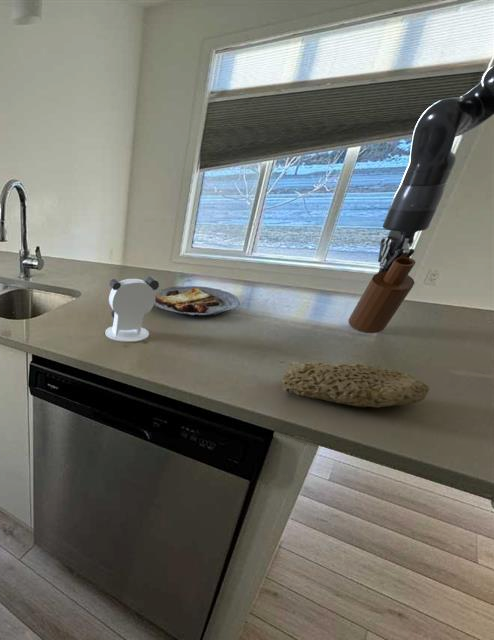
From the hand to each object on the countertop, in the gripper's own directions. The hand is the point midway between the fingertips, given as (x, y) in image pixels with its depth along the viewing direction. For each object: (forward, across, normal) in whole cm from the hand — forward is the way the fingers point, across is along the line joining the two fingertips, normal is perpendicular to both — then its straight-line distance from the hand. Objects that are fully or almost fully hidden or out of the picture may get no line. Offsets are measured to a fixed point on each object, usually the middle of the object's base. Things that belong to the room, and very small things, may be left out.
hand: (380, 283), depth 98 cm
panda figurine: (+11, -20, +55) cm, 60 cm away
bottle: (+10, -2, 0) cm, 10 cm away
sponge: (+11, -41, +12) cm, 44 cm away
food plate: (+11, +6, +40) cm, 42 cm away
